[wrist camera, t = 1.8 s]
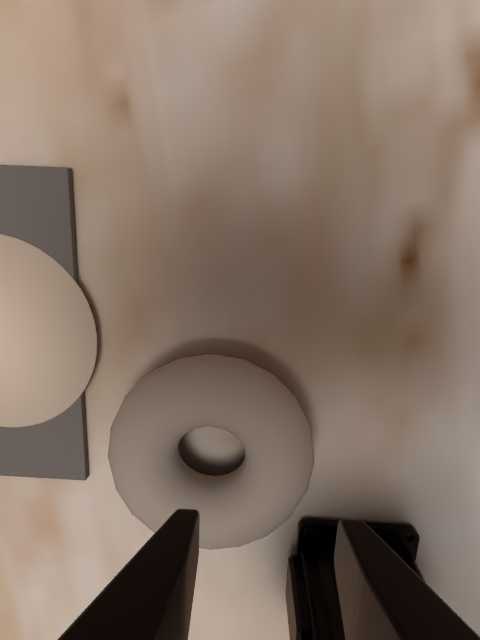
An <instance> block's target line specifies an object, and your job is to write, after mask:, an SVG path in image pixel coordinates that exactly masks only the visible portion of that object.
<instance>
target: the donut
mask: <svg viewBox="0 0 480 640" xmlns="http://www.w3.org/2000/svg"><path fill="white" fill-rule="evenodd" d="M205 426H211V427H217V428H222V429H225V430H227V431H229V432H231V433H233V434H234V435H235V436H236V437H237V438H238V439H239V440H240V441H241V443H242V445H243V447H244V449H245V459H244V461H243V462H242V464H241V466H240V467H239V468H237V469H236V470H235V471H233V472H231V473H228V474H226V475H218V476H211V475H205V474H201V473H199V472H197V471H195V470H193V469H191V468H190V467H189V466H188V465H186V464H185V463H184V462H183V460H182V459H181V457H180V454H179V449H178V445H179V441H180V440H181V438H182V437H183V436H184V435H185V434H186V433H187V432H188V431H191V430H193V429H195V428H197V427H205ZM108 459H109V463H110V467H111V471H112V475H113V479H114V483H115V487H116V490H117V492H118V493H119V495H120V496H121V498H122V499H123V501H124V502H125V504H126V506H127V507H128V509H129V510H130V512H131V513H132V514H133V515H134V516H135V517H136V518H138V519H139V520H140V521H141V522H142V523H143V524H145V525H146V526H147V527H148V528H149V529H150V530H152V531H153V532H154V533H156V531H157V530H158V529H159V528H160V527H161V526H162V525H163V524H164V523H165V522H166V521H167V519H168V518H169V517H170V516H171V515H172V514H173V513H174V512H175V511H176V510H177V509H196V510H198V511H199V515H200V525H199V548H203V549H221V548H231V547H240V546H242V545H245V544H247V543H250V542H253V541H255V540H258V539H260V538H263V537H265V536H267V535H268V534H270V533H271V532H272V531H274V530H275V529H276V528H277V527H279V526H280V525H281V524H282V523H284V522H285V521H286V520H287V519H289V517H290V516H291V514H292V513H293V511H294V510H295V508H296V507H297V505H298V504H299V502H300V500H301V499H302V497H303V496H304V494H305V493H306V491H307V489H308V485H309V481H310V477H311V473H312V468H313V464H314V451H313V443H312V434H311V426H310V424H309V422H308V420H307V418H306V416H305V414H304V412H303V410H302V408H301V406H300V404H299V402H298V400H297V399H296V397H295V396H294V395H293V394H292V393H291V392H290V391H289V390H288V389H287V388H286V387H285V386H284V385H283V384H282V383H281V382H280V381H279V380H278V379H277V378H276V377H275V376H274V375H273V374H272V373H270V372H268V371H266V370H264V369H262V368H260V367H258V366H256V365H254V364H252V363H250V362H248V361H246V360H244V359H239V358H233V357H228V356H222V355H216V354H206V355H199V356H191V357H184V358H179V359H177V360H175V361H173V362H170V363H168V364H166V365H164V366H162V367H160V368H158V369H156V370H154V371H152V372H150V373H149V374H147V375H146V376H145V377H144V378H143V379H142V380H141V381H140V382H139V383H138V384H137V385H136V386H135V387H134V388H133V389H132V390H131V391H130V392H129V393H128V394H127V395H126V396H125V398H124V400H123V403H122V405H121V407H120V409H119V411H118V413H117V415H116V417H115V419H114V421H113V424H112V426H111V431H110V441H109V452H108Z"/></svg>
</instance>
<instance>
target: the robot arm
mask: <svg viewBox="0 0 480 640" xmlns="http://www.w3.org/2000/svg"><path fill="white" fill-rule="evenodd" d="M199 525H200V515H199V511H198V510H196V509H177V510H176V511H175V512H174V513H173V514H172V515H171V516H170V517H169V518H168V519H167V521H166V522H165V523H164V524H163V525H162V526H161V527H160V528H159V529H158V530H157V531H156V533H155V534H154V535H153V536H152V537H151V538H150V539H149V540H148V541H147V542H146V544H145V545H144V546H143V547H142V548H141V549H140V550H139V551H138V552H137V553H136V554H135V556H134V557H133V558H132V559H131V560H130V561H129V562H128V563H127V564H126V565H125V566H124V568H123V569H122V570H121V571H120V572H119V573H118V574H117V575H116V576H115V577H114V579H113V580H112V581H111V582H110V583H109V584H108V585H107V586H106V587H105V588H104V589H103V591H102V592H101V593H100V594H99V595H98V596H97V597H96V598H95V599H94V600H93V601H92V603H91V604H90V605H89V606H88V607H87V608H86V609H85V610H84V611H83V612H82V614H81V615H80V616H79V617H78V618H77V619H76V620H75V621H74V622H73V623H72V624H71V626H70V627H69V628H68V629H67V630H66V631H65V632H64V633H63V634H62V635H61V637H60V638H59V639H58V640H188V633H189V625H190V618H191V610H192V602H193V595H194V587H195V580H196V572H197V564H198V555H199ZM306 528H310V530H304V529H306ZM408 534H411V535H409V536H407V535H408ZM418 543H419V535H418V533H417V531H416V529H415V528H414V527H413V526H411V525H404V524H387V523H371V522H364V521H362V520H359V519H344V518H343V519H341V520H340V521H338V520H321V519H303V520H301V521H300V522H299V525H298V532H297V544H296V555H291V556H290V558H289V559H288V571H287V583H286V602H287V613H288V624H289V635H290V640H480V637H479V636H478V635H477V633H475V632H474V631H473V630H472V629H471V628H470V627H469V626H468V625H467V624H466V623H465V622H464V621H463V620H462V619H461V618H460V617H459V616H458V615H457V614H456V613H455V612H454V611H453V610H452V609H451V608H450V607H449V606H448V605H447V604H446V603H445V602H444V601H443V600H442V599H441V598H440V597H439V596H438V595H437V594H436V593H435V592H434V591H433V590H432V589H431V588H430V587H429V586H428V585H427V584H426V582H425V580H424V578H423V576H422V574H421V572H420V570H419V568H418V566H417V564H416V562H415V560H416V554H417V549H418Z"/></svg>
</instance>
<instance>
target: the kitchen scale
mask: <svg viewBox="0 0 480 640" xmlns="http://www.w3.org/2000/svg"><path fill="white" fill-rule="evenodd" d="M96 356H97V333H96V326H95V322H94V318H93V314H92V311H91V309H90V306H89V304H88V301H87V299H86V298H85V296H84V294H83V292H82V290H81V288H80V287H79V286H78V273H77V256H76V238H75V220H74V202H73V185H72V169H69V168H60V167H34V166H8V165H0V475H2V476H19V477H36V478H54V479H71V480H86V479H87V478H88V476H89V469H88V451H87V433H86V416H85V398H84V390H85V388H86V387H87V385H88V382H89V380H90V378H91V376H92V373H93V370H94V367H95V362H96Z"/></svg>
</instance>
